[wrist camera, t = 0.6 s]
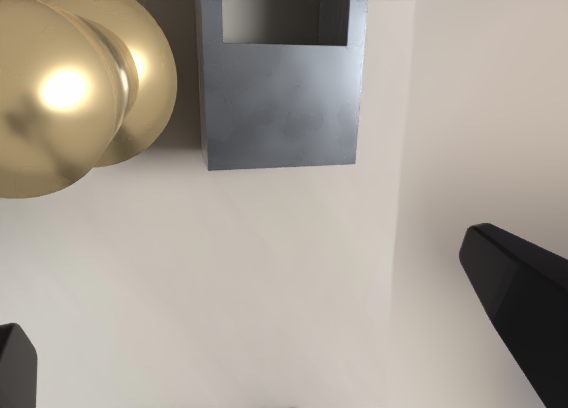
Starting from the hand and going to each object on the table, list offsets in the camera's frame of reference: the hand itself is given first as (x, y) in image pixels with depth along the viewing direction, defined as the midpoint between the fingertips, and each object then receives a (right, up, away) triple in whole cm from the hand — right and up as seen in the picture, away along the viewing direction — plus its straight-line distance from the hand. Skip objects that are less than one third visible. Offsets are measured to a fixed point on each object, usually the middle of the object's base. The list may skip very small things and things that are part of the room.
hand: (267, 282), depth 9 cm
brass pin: (-8, +8, +12) cm, 16 cm away
